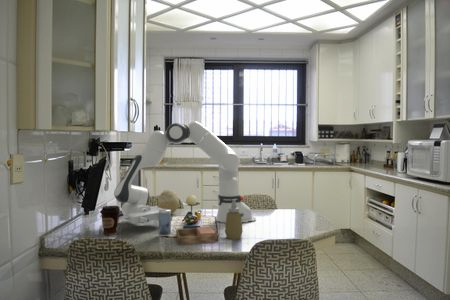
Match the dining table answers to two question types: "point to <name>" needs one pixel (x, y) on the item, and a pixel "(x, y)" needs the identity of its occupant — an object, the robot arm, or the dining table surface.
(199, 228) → the pasta box
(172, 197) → the fossilized egg
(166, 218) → the tin can
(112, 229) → the coffee cup
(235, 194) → the robot arm
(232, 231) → the squeeze bottle
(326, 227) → the dining table surface
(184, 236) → the crate
